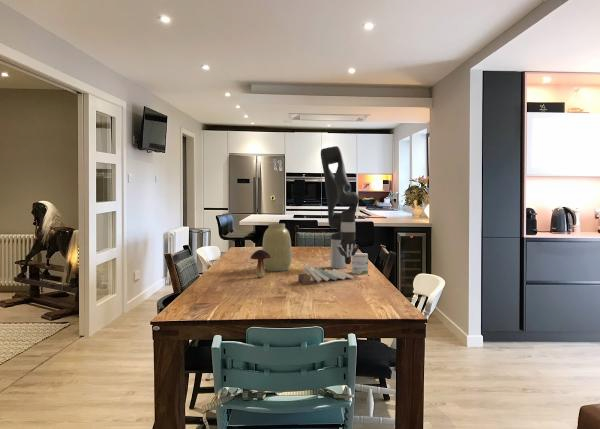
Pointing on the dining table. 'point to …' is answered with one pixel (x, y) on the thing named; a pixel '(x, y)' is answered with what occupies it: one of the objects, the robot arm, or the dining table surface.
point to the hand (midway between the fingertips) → (347, 264)
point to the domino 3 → (327, 274)
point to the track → (306, 279)
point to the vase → (277, 247)
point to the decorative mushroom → (260, 261)
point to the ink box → (360, 263)
